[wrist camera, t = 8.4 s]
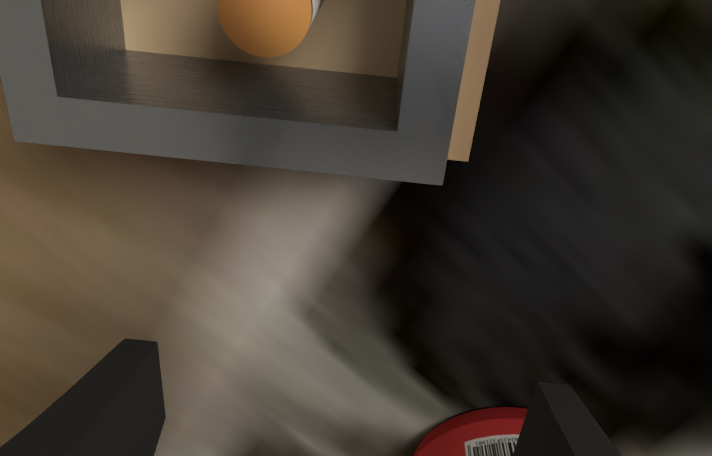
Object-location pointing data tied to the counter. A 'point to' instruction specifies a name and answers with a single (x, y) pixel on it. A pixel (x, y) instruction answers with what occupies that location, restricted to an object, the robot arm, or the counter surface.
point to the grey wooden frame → (232, 96)
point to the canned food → (475, 434)
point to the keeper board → (307, 40)
